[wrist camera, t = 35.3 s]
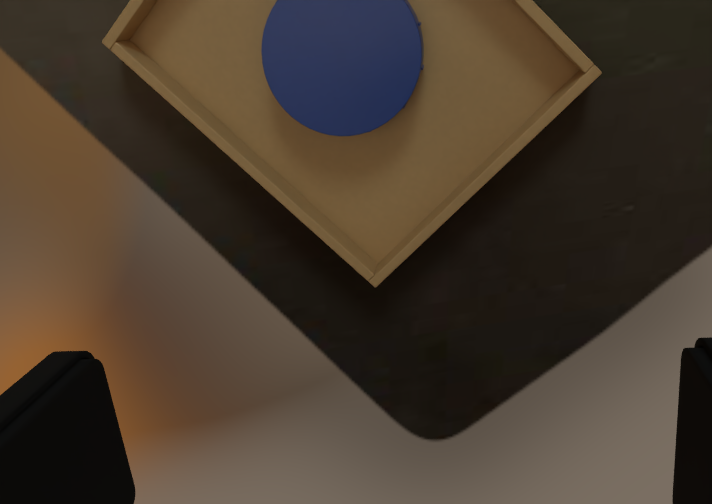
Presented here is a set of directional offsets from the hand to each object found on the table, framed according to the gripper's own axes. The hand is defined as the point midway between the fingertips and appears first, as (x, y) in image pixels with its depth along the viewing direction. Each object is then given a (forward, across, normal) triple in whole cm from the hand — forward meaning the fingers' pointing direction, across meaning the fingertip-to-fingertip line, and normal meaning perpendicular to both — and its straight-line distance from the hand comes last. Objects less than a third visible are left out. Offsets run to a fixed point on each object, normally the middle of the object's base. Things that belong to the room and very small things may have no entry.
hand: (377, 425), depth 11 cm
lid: (+21, +4, -5) cm, 21 cm away
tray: (+23, +4, -5) cm, 23 cm away
